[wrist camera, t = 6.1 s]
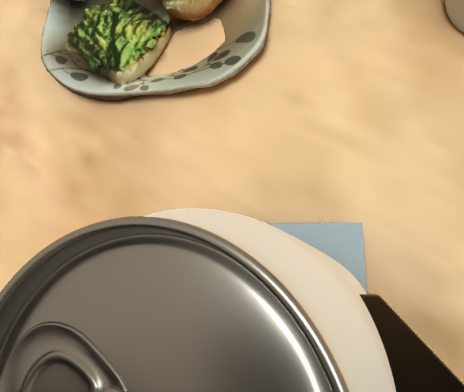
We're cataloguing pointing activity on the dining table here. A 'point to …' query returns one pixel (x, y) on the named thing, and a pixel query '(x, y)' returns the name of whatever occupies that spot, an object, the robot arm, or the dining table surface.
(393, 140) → the dining table surface
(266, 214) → the dining table surface
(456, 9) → the coffee cup
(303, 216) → the dining table surface
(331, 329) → the can
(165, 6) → the salad plate
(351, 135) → the dining table surface
